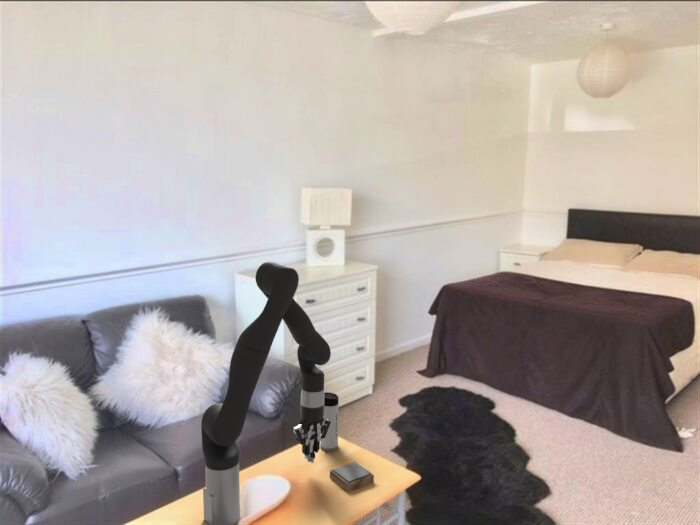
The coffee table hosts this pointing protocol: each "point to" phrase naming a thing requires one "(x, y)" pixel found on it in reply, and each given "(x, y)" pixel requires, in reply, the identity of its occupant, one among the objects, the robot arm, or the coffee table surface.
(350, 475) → the tray
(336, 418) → the travel mug
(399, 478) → the coffee table surface
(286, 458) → the coffee table surface
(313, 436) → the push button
